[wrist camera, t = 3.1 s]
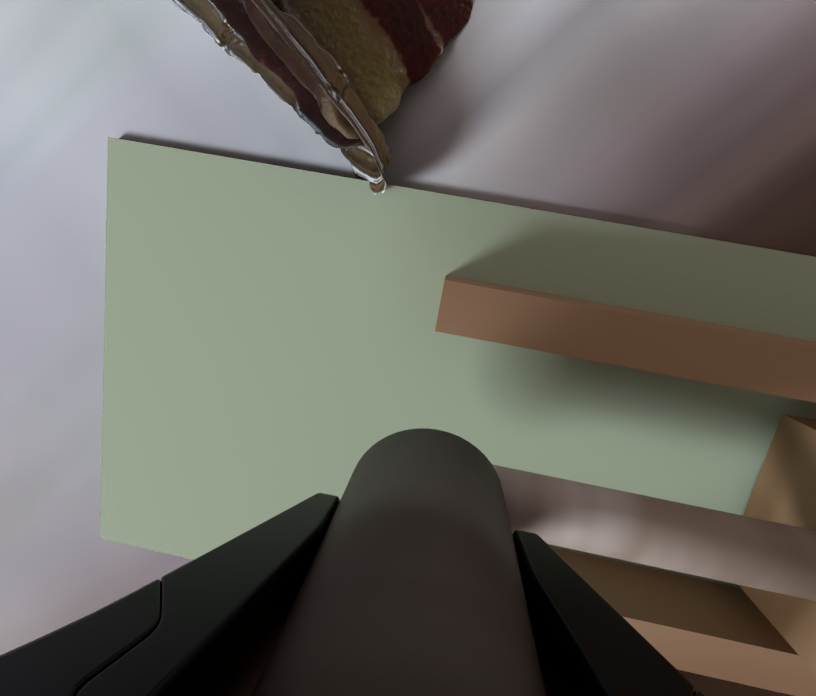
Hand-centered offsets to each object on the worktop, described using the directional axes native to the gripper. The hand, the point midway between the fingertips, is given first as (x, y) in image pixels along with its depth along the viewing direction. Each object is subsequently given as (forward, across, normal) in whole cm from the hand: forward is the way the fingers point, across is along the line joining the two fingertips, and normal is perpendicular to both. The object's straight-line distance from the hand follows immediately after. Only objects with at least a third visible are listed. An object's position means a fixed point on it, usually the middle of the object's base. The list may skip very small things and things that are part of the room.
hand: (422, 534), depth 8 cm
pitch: (+6, -10, 0) cm, 11 cm away
